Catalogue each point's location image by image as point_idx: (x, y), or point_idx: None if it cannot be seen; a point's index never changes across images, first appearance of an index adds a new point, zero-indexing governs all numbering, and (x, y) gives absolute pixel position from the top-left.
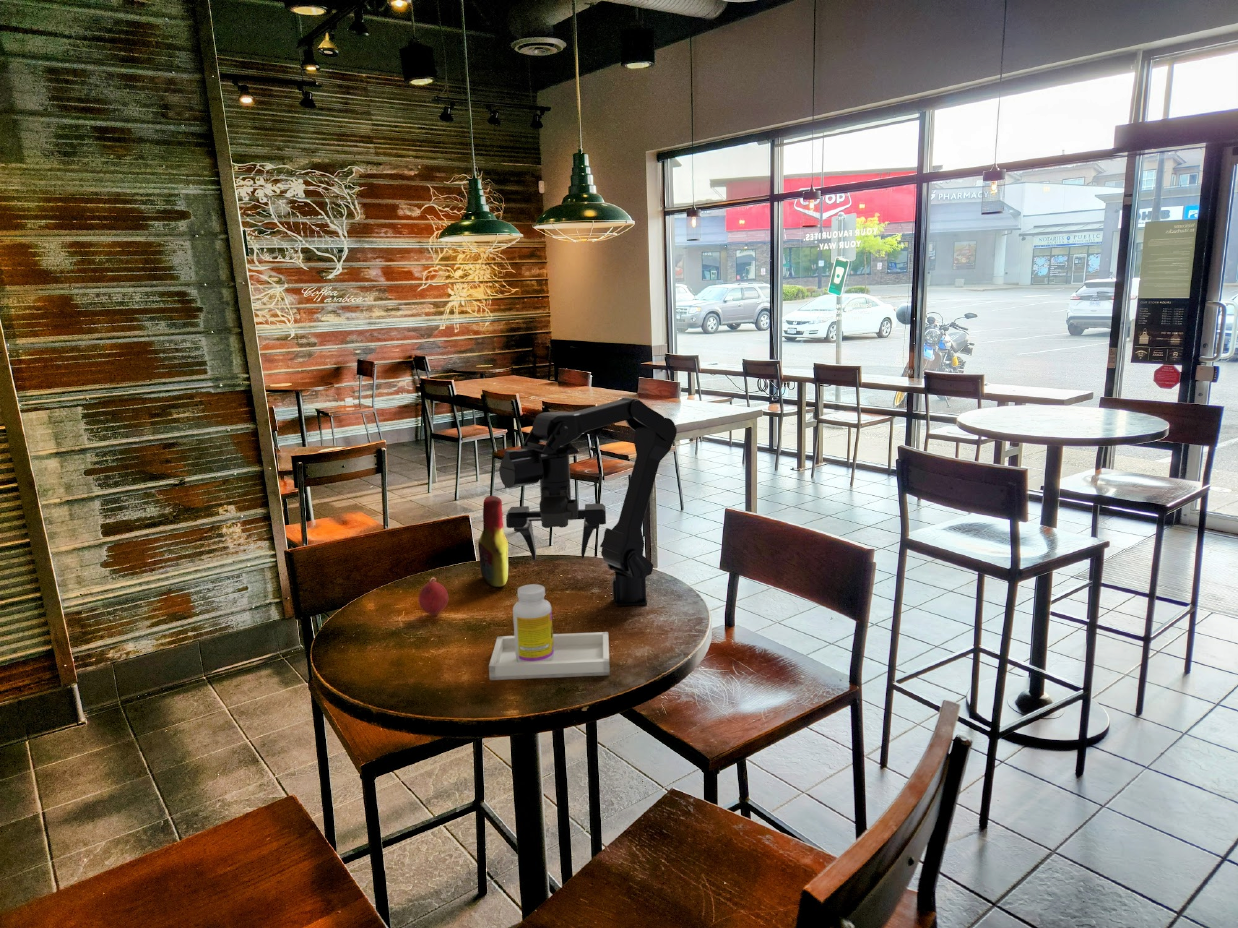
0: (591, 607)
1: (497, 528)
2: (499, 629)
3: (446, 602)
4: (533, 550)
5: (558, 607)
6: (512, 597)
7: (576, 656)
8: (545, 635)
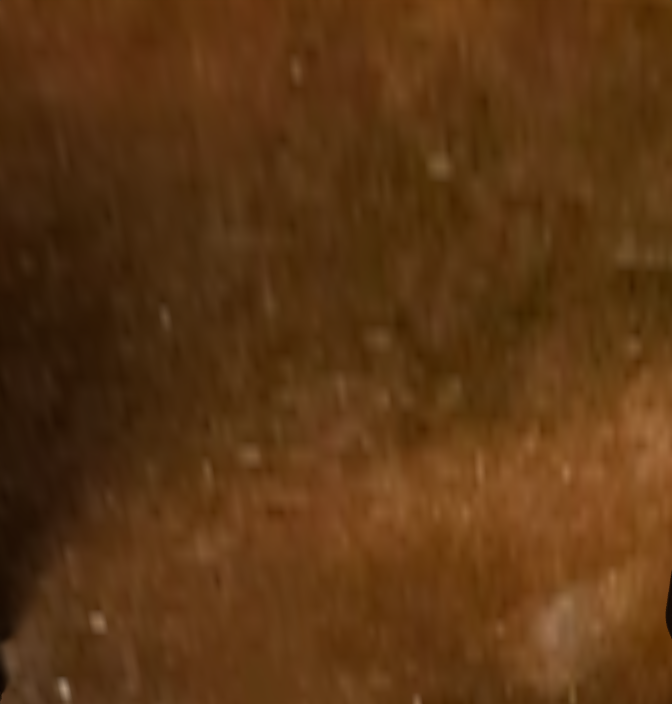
0: (123, 538)
1: None
2: (661, 224)
3: None
4: None
5: (327, 537)
6: (593, 662)
7: None
8: None
